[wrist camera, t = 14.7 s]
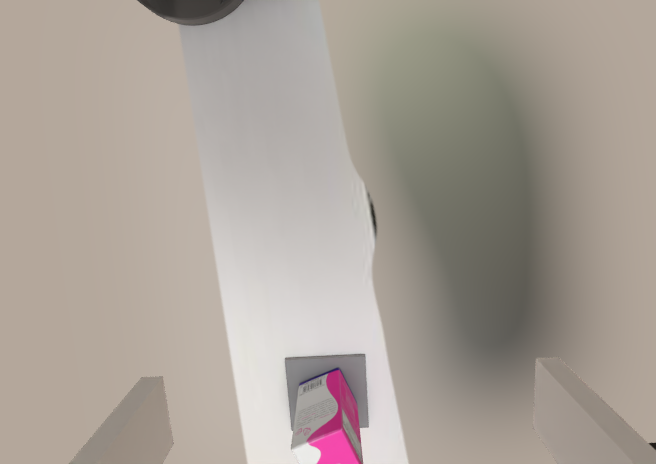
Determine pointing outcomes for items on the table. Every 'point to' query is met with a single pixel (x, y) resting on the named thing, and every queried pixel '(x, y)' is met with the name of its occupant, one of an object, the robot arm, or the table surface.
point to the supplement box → (326, 422)
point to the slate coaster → (315, 366)
